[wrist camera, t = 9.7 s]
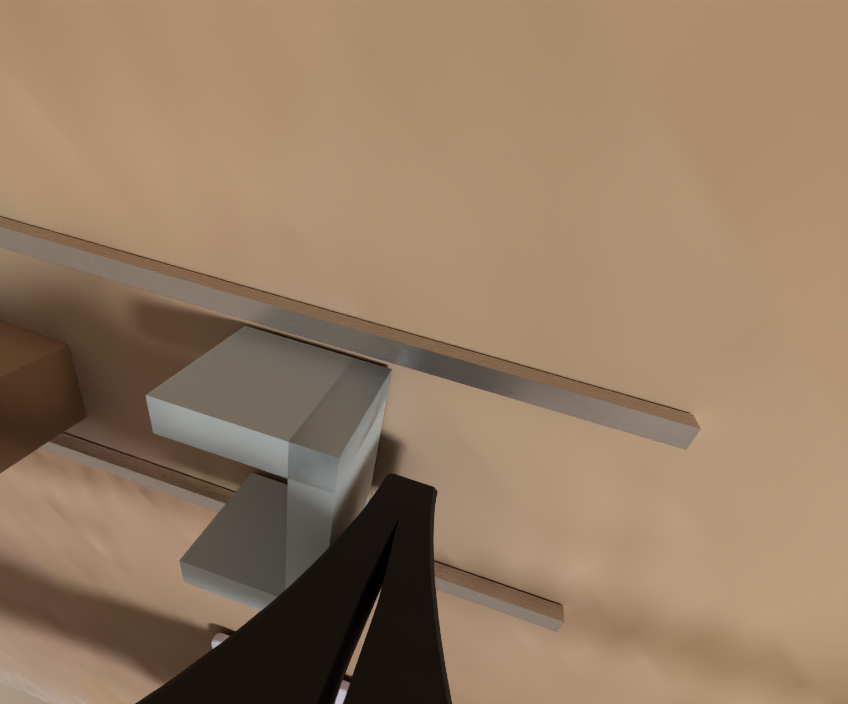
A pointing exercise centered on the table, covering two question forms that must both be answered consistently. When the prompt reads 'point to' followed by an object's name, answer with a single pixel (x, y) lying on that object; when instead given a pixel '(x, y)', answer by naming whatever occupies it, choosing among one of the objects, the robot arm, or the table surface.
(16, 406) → the brown bar
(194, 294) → the track
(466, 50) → the table surface
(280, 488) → the cap
